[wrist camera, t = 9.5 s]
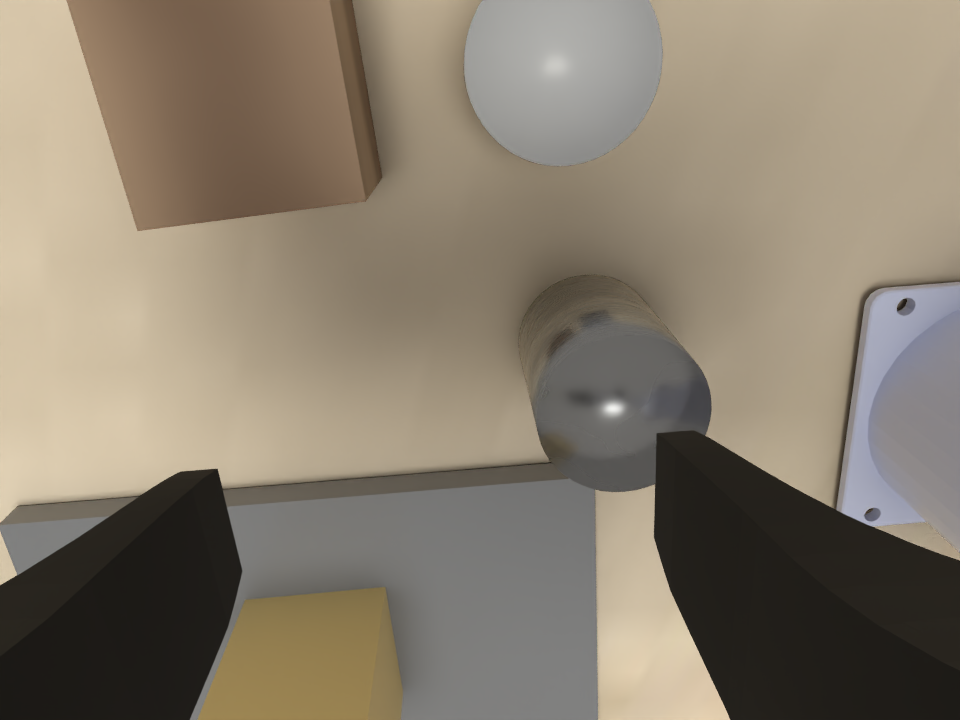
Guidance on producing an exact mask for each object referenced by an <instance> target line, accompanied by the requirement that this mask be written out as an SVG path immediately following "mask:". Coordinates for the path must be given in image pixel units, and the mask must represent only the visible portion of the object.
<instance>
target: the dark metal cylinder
mask: <svg viewBox="0 0 960 720" xmlns="http://www.w3.org/2000/svg"><path fill="white" fill-rule="evenodd" d="M519 353H520V358H521V362H522V367H523V371H524V375H525V379H526V384H527V388H528V392H529V396H530V401H531V405H532V409H533V413H534V418H535V422H536V426H537V431H538V435H539V438H540V442H541V445H542V447H543V449H544V452H545V453H546V455H547V457H548V458H549V460H550V461H551V462H552V464H553V465H554V466H555V467H556V468H557V469H558V470H559V471H560V472H561V473H562V474H563V475H565V476H566V477H568V478H569V479H571V480H572V481H574V482H576V483H578V484H580V485H582V486H585V487H588V488H591V489H595V490H600V491H609V492H625V491H632V490H637V489H641V488H645V487H648V486H651V485H653V484H655V478H656V436H657V433H664V432H677V431H689V430H695V431H697V432H699V433H701V434H703V435H705V434H706V432H707V430H708V426H709V422H710V417H711V395H710V389H709V386H708V383H707V380H706V378H705V376H704V374H703V372H702V370H701V369H700V368H699V366H698V365H697V363H696V362H695V361H694V360H693V358H692V357H691V356H690V355H689V354H688V353H687V351H686V350H685V349H684V348H683V347H682V345H681V344H680V343H679V342H678V341H677V339H676V338H675V337H674V336H673V335H672V334H671V332H670V331H669V330H668V329H667V328H666V326H665V325H664V324H663V323H662V322H661V320H660V319H659V318H658V317H657V316H656V315H655V313H654V312H653V311H652V310H651V309H650V307H649V306H648V305H647V304H646V303H645V301H644V300H643V299H642V298H641V297H640V296H639V295H638V294H637V293H636V292H635V291H634V290H633V289H632V288H630V287H629V286H628V285H626V284H624V283H623V282H621V281H619V280H616V279H614V278H610V277H606V276H601V275H581V276H575V277H571V278H568V279H565V280H563V281H560V282H558V283H556V284H554V285H553V286H551V287H549V288H548V289H547V290H545V291H544V292H543V293H542V294H541V295H540V296H539V297H538V298H537V299H536V300H535V301H534V302H533V303H532V305H531V306H530V308H529V309H528V311H527V313H526V314H525V317H524V319H523V321H522V325H521V328H520V333H519Z"/></svg>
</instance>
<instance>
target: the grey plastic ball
mask: <svg viewBox="0 0 960 720" xmlns="http://www.w3.org/2000/svg"><path fill="white" fill-rule="evenodd" d="M662 54H663V51H662V38H661V33H660V28H659V23H658V21H657V18H656V15H655V12H654V9H653V7H652V5H651V3H650V1H649V0H482V1H481V3H480V5H479V6H478V8H477V10H476V13H475V15H474V17H473V19H472V22H471V25H470V28H469V31H468V35H467V40H466V45H465V55H464V79H465V85H466V90H467V93H468V96H469V99H470V102H471V104H472V106H473V108H474V110H475V113H476V115H477V116H478V118H479V120H480V121H481V123H482V125H483V126H484V127H485V129H486V130H487V131H488V132H489V134H490V135H491V136H492V137H493V138H494V139H495V140H496V141H497V142H498V143H499V144H500V145H502V146H503V147H504V148H506V149H507V150H508V151H510V152H511V153H513V154H515V155H517V156H519V157H520V158H523V159H525V160H528V161H531V162H533V163H538V164H542V165H548V166H571V165H576V164H582V163H585V162H588V161H591V160H594V159H596V158H598V157H600V156H602V155H605V154H606V153H608V152H609V151H611V150H613V149H614V148H616V147H617V146H618V145H619V144H621V143H622V142H623V141H624V140H625V139H627V138H628V136H629V135H630V134H631V133H632V132H633V131H634V130H635V129H636V128H637V126H638V125H639V124H640V122H641V121H642V120H643V118H644V117H645V115H646V113H647V111H648V109H649V108H650V106H651V103H652V101H653V99H654V96H655V94H656V91H657V87H658V84H659V80H660V75H661V69H662Z"/></svg>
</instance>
